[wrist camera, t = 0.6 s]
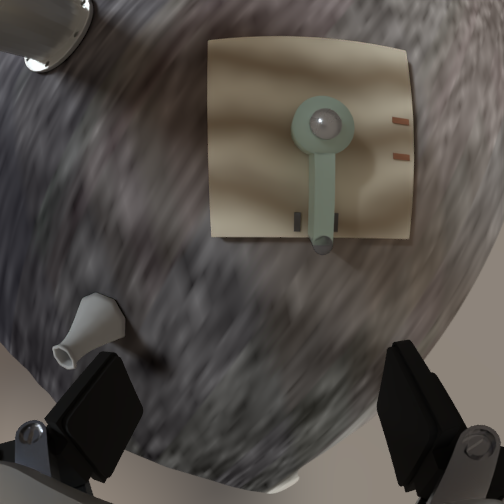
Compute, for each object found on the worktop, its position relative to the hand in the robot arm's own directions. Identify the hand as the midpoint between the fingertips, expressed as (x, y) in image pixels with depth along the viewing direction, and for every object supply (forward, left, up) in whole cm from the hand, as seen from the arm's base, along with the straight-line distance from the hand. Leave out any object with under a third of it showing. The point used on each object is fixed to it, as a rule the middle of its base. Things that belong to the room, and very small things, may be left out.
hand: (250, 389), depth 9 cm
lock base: (-10, +5, -21) cm, 24 cm away
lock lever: (-6, +5, -19) cm, 21 cm away
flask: (+11, -21, -21) cm, 32 cm away
